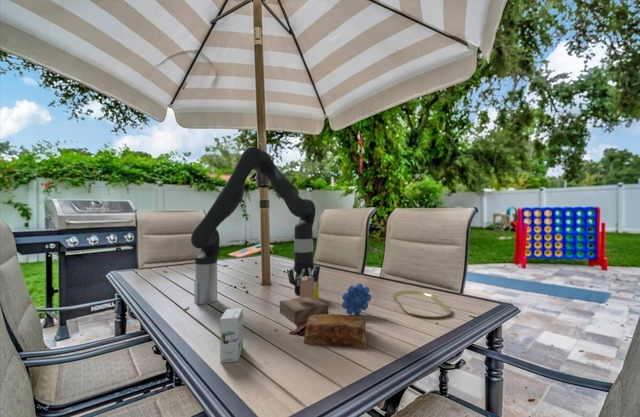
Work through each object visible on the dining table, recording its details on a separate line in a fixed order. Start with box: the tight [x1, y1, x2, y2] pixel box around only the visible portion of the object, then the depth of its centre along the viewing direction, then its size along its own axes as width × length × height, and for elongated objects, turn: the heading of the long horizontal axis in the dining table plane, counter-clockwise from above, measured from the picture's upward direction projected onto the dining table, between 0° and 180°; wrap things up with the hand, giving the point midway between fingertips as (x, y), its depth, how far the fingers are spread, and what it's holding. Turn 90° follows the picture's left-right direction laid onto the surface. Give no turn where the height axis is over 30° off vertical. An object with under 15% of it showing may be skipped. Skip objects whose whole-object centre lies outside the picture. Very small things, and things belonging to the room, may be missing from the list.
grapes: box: [341, 283, 372, 315], centre depth 115 cm, size 12×7×12 cm, turn 95°
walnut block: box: [279, 296, 329, 325], centre depth 115 cm, size 14×14×5 cm
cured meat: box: [288, 313, 367, 350], centre depth 97 cm, size 18×25×7 cm
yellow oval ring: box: [392, 290, 452, 320], centre depth 127 cm, size 19×35×2 cm, turn 178°
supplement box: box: [303, 275, 320, 300], centre depth 134 cm, size 6×6×11 cm
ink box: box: [219, 307, 244, 364], centre depth 83 cm, size 8×5×12 cm, turn 6°
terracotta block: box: [294, 277, 313, 298], centre depth 115 cm, size 5×5×6 cm
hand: (304, 293), depth 115 cm, fingers closed on terracotta block, 5 cm apart
